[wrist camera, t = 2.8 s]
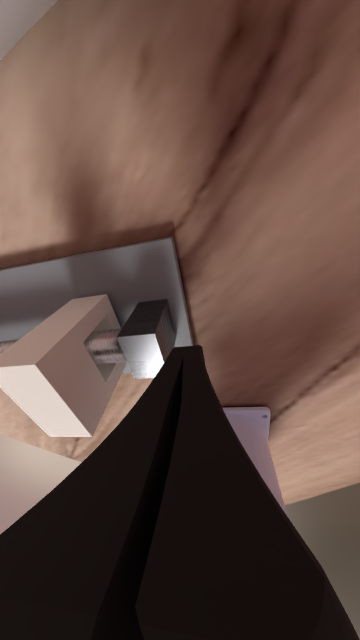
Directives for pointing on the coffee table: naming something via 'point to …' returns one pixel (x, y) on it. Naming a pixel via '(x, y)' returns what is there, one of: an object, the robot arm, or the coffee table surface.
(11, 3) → the tube
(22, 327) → the rod board
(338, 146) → the coffee table surface
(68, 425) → the collar
